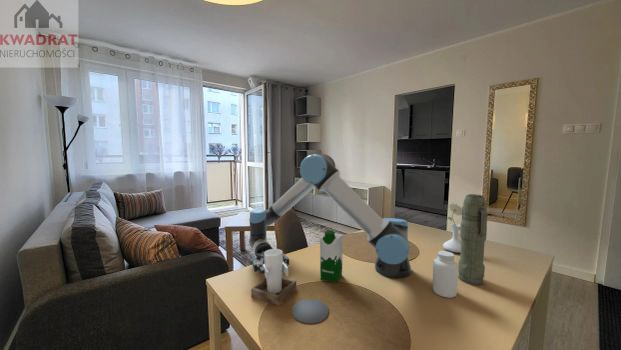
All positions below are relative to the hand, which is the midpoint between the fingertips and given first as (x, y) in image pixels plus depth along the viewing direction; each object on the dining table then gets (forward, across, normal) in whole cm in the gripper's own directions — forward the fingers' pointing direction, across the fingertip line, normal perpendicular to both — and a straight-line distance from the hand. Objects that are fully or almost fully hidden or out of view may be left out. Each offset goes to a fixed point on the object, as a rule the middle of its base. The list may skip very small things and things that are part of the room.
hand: (277, 273), depth 88 cm
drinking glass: (-5, 0, -9) cm, 11 cm away
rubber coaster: (+11, -8, -10) cm, 16 cm away
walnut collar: (-5, 0, -10) cm, 11 cm away
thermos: (+19, -76, -10) cm, 79 cm away
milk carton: (-6, -25, -10) cm, 28 cm away
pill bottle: (+21, -58, -10) cm, 62 cm away
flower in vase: (-6, -99, -10) cm, 99 cm away
